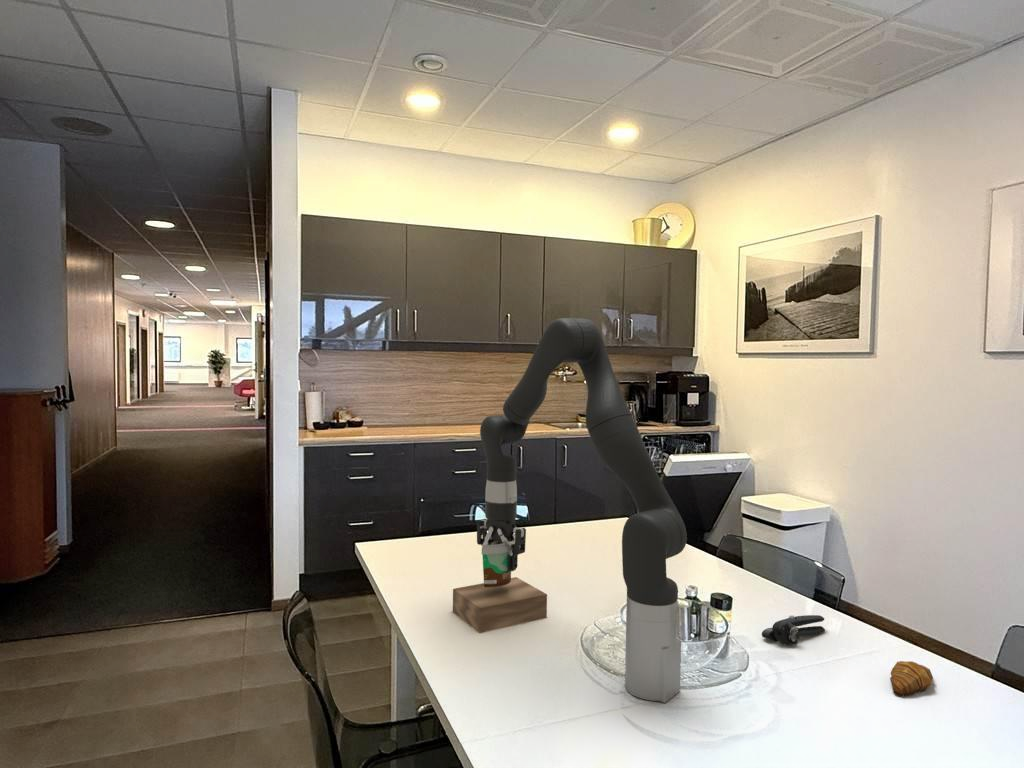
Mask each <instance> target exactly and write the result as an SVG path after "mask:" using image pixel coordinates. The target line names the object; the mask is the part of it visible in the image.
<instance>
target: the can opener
mask: <svg viewBox="0 0 1024 768" xmlns="http://www.w3.org/2000/svg"><path fill="white" fill-rule="evenodd" d="M823 621H825V617H823V616H822V615H819V614H818V615H817V614H816V615H815V614H811V615H810V614H807V615H797V616H795V615H792V614H791V615H789V616H788V617H787V618H785V619H781V620H778V621H775V622H774V623H773V625H772V626H771V627H767V628H765V629H763V630H762V631H761V637H762V638H764V639H766V640H769V641H771V642H777V643H779V644H781V645H783V646H795V645H797V643H798V639H799V638H800V637H804V636H805V637H806V636H817V635H819V634H822V633H824V632H825V630H826V629H825V627H824V626H822V625H814V626H812V624H816V623H822V622H823ZM810 624H811V626H808V625H810ZM802 626H804V627H802Z"/></svg>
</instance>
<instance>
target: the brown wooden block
mask: <svg viewBox="0 0 1024 768" xmlns="http://www.w3.org/2000/svg"><path fill="white" fill-rule="evenodd" d="M547 607H548V594H547V593H545V592H544V591H542V590H540V589H539V588H537V587H535V586H533V585H531V584H529V583H528V582H526V581H524V580H523V579H520V578H519V577H517V576H516V577H515V576H514V577H511V582H510V583H509V584H507V585H503V586H498V587H484V582H481V583H477V584H471V585H467V586H461V587H456V588H453V589H452V613H453V614H455V615H456V616H457V617H459V618H460V619H461V620H462V621H463V622H465V623H466V624H467V625H469V626H470V627H471V628H472V629H474V630H475V631H476V632H477V633H478V634H482V633H487V632H490V631H491V632H492V631H494V630H495V631H496V630H499V629H504V628H507V627H513V626H517V625H522V624H526V623H529V622H530V623H531V622H534V621H540V620H543V619H547V618H548V616H547V613H548V608H547Z"/></svg>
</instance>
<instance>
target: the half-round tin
mask: <svg viewBox="0 0 1024 768" xmlns="http://www.w3.org/2000/svg"><path fill="white" fill-rule="evenodd" d="M508 542H511V540H509V541H508ZM511 547H512V545H511ZM512 550H513V548H512ZM480 554H481V555H482V572H483V583H484V587H498V586H503V585H507V584H509V583H510V582H511V578H512V572H511V571H508V556H509V553H508V547H507V546H505V543H502V542H500V541H498V540H497V541H490V542H489V544H488V545H482V546H481V553H480Z"/></svg>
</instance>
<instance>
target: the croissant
mask: <svg viewBox="0 0 1024 768" xmlns="http://www.w3.org/2000/svg"><path fill="white" fill-rule="evenodd" d="M890 676H891V677H889V680H890V684H891V688H892V693H893V694H894V695H895V696H899V697H909V696H910V697H911V696H913V695H915V694H916V693H922V692H925V691H926V690H927V689H928V688H929V687H930V686H931V684H932V683H933V679H934V677H933V674H932V672H931V669H930V668H928V667H927V666H925V665H922V664H919V663H917V662H915V661H909V660H908V661H906V660H905V661H903V660H899V661H897V662H896V663H895V664H894V666H893V667H892V668H891V671H890Z"/></svg>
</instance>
